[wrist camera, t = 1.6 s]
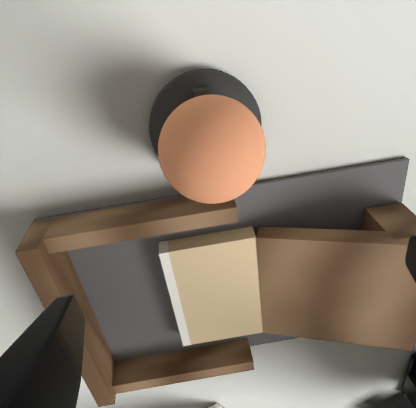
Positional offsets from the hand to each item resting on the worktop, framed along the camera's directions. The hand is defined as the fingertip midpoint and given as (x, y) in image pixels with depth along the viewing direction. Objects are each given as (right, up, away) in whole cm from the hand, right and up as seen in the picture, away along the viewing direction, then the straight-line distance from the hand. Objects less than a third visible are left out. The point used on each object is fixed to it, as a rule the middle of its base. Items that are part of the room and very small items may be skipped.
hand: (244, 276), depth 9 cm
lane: (+1, -3, +16) cm, 16 cm away
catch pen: (-4, -4, +16) cm, 17 cm away
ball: (-1, +6, +9) cm, 11 cm away
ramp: (+7, -3, +16) cm, 18 cm away
